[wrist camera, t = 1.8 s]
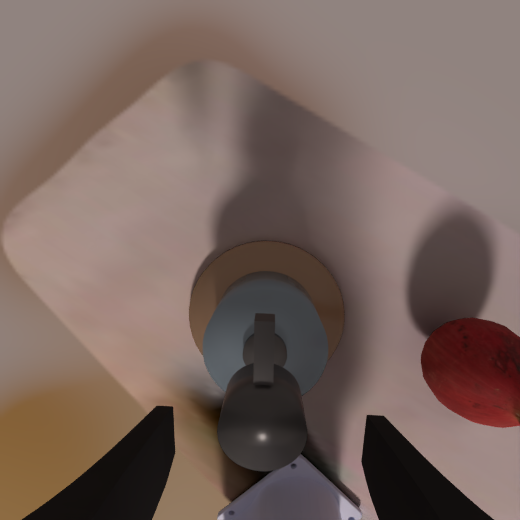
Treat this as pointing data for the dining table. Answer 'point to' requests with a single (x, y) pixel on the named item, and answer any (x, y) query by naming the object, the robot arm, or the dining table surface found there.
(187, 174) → the dining table surface
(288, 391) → the pump head
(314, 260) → the dispenser
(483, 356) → the red round fruit
